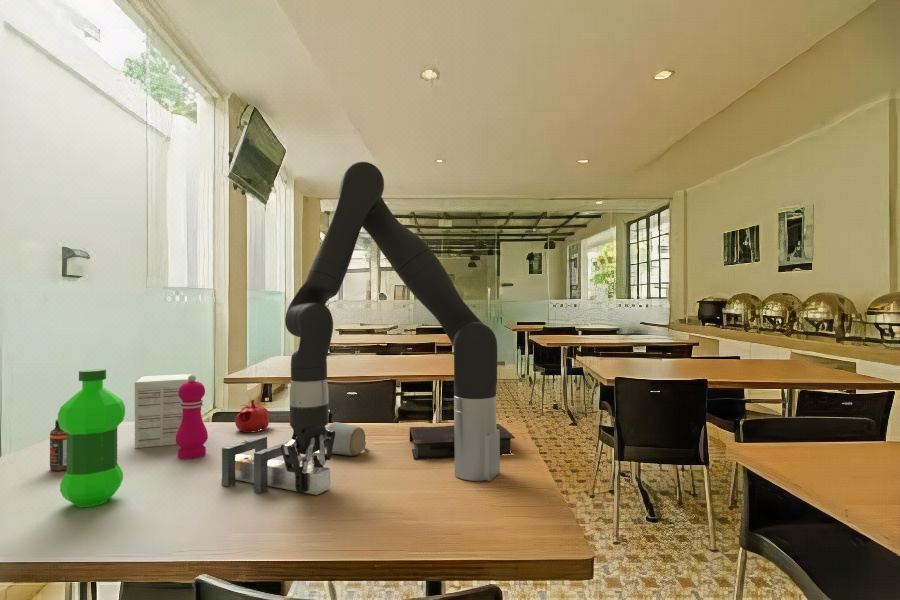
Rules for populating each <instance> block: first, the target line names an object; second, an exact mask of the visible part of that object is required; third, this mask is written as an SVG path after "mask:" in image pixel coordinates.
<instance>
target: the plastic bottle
mask: <svg viewBox="0 0 900 600" xmlns="http://www.w3.org/2000/svg"><path fill="white" fill-rule="evenodd" d="M105 380H107V369H106V368H92V369H82V370H79V371H78V381H79V382H81V383H82V385H81V387H82V388H81V390H79V391H78V392H77V393H75V394H73V396H71V397H70V399H68V400H67V401H66V402H65V403H64V404H62V406H60V409H59V411H58V413H57V419H58V423H59V427H60V429H62V430H63V431H64V432H66V433H67V470H66V472H65V473H64V476H63V477H62V479H61V482H60V484H59V492H60V494H61V495H62V497H63V498H64V499H65V500H66V501H68V502H70V503H71V504H73V505H74V506H76V507H78V508H90V507H94V506H99V505H102V504H104V502H105V503H107V502H109V501H108V500H110V498H112V497H113V496H114V495H115V493H116V492H117V491H118V490H119V488H120V487H121V485H122V482H123V480H124V472H123V471H122V468H121V466H120V465H119V464H118V426H119V425H120V424H121V423H122V422H123V421H124V420H125V416H126V415H125V414H126V406H125V403H124V401H123V400H122V399H121V398H120V397H119V396H117V395H116V394H114V393H113V392H111V391H110V390H108V389H107V388H105V387H104V381H105Z"/></svg>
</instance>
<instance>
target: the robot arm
mask: <svg viewBox="0 0 900 600" xmlns="http://www.w3.org/2000/svg"><path fill="white" fill-rule="evenodd" d="M340 180H341V181H340V184H339V185H340V186H339V190H338V191H339V197H338V201H337V205H336V207H335V211H334V213H333V216H332V219H331V222H330V223H329V226H328V228H327V230H326V233H325V235H324V237H323V240H322V241H321V244H320V245H319V248H318V251H317V252H316V254H315V257H314V259H313V262H312V264H311V267H310V269H309V271H308V274H307V276H306V279H305V281H304V282H303V284H302V285H301V287H300V288H299V289H298V291H297V292H296V294H295V296H293V298H292V300H291V302H290V303H289V305H288V307H287V311H286V313H285V318H284V323H285V327H286V330H287V331H288V332H289V333H290V334H291V335H292V336H294V337H298V338H299V344H298V345H299V346H298V349H297V350H296V351H294V352H293V353H292V355H291V360H290V386H289V426H290V428H292V430H293V431H292V436H291V440H289V441H290V442H289V443H288V444H282V443H281V444H282V445H281V451H282V457H283V461H284V462H285V466H286V469H287V471H288V472H294V473H295V488H296V490H297V491H296V492H299V493H301V494H302V493H303V494H304V492H306V491H307V473H306V472H307V467H308V465H309V462H310V461H311V463H312V464H313V465H312V466H318V467H324V466H325V465H326V462H327V461H330V460H331V458H332V455H333V454H332V449H333V444H334V439H335V431H332V430H327V427H326V426H327V425H328V424H329V422H330V421H329V420H330V419H329V413H330V412H329V406H330V405H329V385H328V362H327V361H328V360H327V359H328V354H329V351H330V347H331V346H330V345H331V343H332V336H333V332H334V319H333V315H332V312H331V310H330V309H329V307H328V306H327V305H326V304H327V302H328V301H329V300H330V299H332V298H334V297H335V296H336V295H337V294H338V293H339V292H340V289H341V287H342V285H343V282H344V280H345V277H346V274H347V272H348V269H349V267H350V264H351V260H352V257H353V254H354V252H355V251H354V250H355V248H356V245H357V242H358V238H359V235H360V233H361V230H362V228H363V229H364V230H365V231H366V233H368V234H369V236H370V237H371V238H372V240H373V241H374V242H375V244H376V246H377V247H378V249H379V250H380V251H381V253H382V254H383V256H384V257H385V259H386V260H387V261H388V263H389V264H390V266H391V267H392V268H393V270H394V271H395V273H396V274H397V276H398V277H399V279H400V280H401V281H402V283H403V284H404V285H405V286H406V287H407V289H408V290H409V291H410V292H411V294H413V296H414V297H415V298H416V299H417V300H418V301H419V302H420V303H421V304H422V305H423V306H424V307H425V308H426V309H427V310H428V311H429V312H430V313H431V314H432V315H433V317H434V318H435V319H436V320H437V322H438V323H439V324H440V326H441V328H442V329H443V330H444V332H445V334H446V335H447V337H448V339H449V340H450V342H451V344H452V346H453V408H454V409H453V414H454V416H453V418H454V419H453V425H454V458H453V459H454V463H453V464H454V466H453V468H454V475H455V477H456V478H458V479H461V480H465V481H474V482H479V481H480V482H481V481H488V482H490V481H492V480H493V479H495V477H496V476H497V477H498V475H499V474H500V472H501V456H500V431H499V429H496V424H497V385H498V384H497V383H498V341H497V337H496V334H495V333H494V331H493V330H492V329H491V328H490V327H489V326H488V325H486V324H485V323H483V321H481V320H480V318H479V317H478V316H477V315H476V314H475V313H474V312H473V310H471V309H470V307H469V306H468V305H467V304H466V303H465V301H464V300H463V299H462V297H461V296H460V294H459V292H458V290H457V288H456V287H455V285H454V283H453V280H452V279H451V277H450V276H449V274H448V272H447V271H446V269H445V267H444V265H443V264H442V263H441V261H440V260H439V258H438V257H437V255H436V254H435V253H434V251H432V249H431V248H430V246H429V245H428V244H427V243H426V241H424V240H423V239H422V238H421V237H419V236H418V235H417V234H416V233H414V232H413V231H412V230H410V229H409V228H407V227H406V226H404V225H403V224H402V223H401V222H400V221H399V220H398V219H397V218H396V217H395V216H394V214H393V212H392V211H391V210H390V208H389V206H387V203H386V202H385V201H384V198H383V197H382V196H383V194H384V193H383V192H384V190H385V180H384V177H383V173H382V171H381V170H380V169H379V167H377V166H376V165H375V164H373V163H371V162H368V161H357V162H354V163H352V164H351V165H350V166H348V167H347V169H345V170H344V172H343V174H342V177H341V179H340ZM326 447H327V451H326V449H325V448H326ZM292 464H293V465H292ZM300 464H302V467H300Z"/></svg>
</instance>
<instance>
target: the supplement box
mask: <svg viewBox="0 0 900 600" xmlns="http://www.w3.org/2000/svg"><path fill="white" fill-rule="evenodd" d="M190 375H194V374H192V373H184V374H183V373H181V374H165V375H146V376H145V375H143V376H142V377H140V378H139V379H138V380H136V381H135V382H134V449H141V448H150V447H161V446H171V445H172V446H173V445H177V444H176V434H177V431H178V429H179V426H180V424H181V421H182V416H183V409H182V408H181V402H182V399H181V398H180V397H179V395H178V391H179V388H180V386H181V385H182V384H184V383H186V382H189V381H188V377H189V376H190Z"/></svg>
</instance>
